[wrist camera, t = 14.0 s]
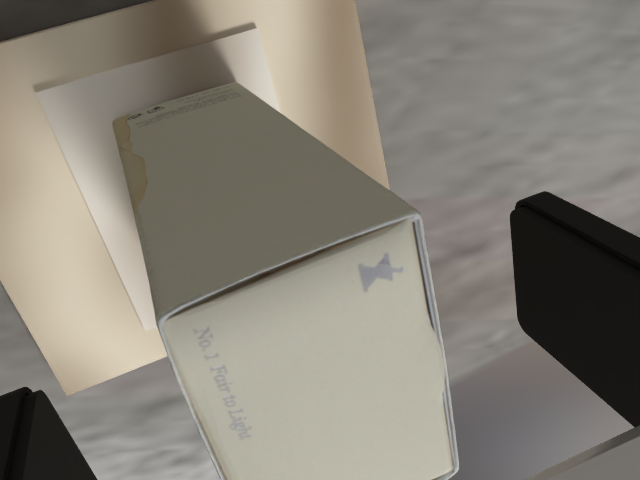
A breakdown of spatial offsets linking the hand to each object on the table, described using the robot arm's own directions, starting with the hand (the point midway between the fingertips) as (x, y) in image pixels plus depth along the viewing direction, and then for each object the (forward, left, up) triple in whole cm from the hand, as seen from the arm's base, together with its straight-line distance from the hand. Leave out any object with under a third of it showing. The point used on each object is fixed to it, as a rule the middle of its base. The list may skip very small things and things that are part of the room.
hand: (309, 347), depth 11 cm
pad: (+1, 0, -12) cm, 12 cm away
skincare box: (0, 0, -11) cm, 11 cm away
